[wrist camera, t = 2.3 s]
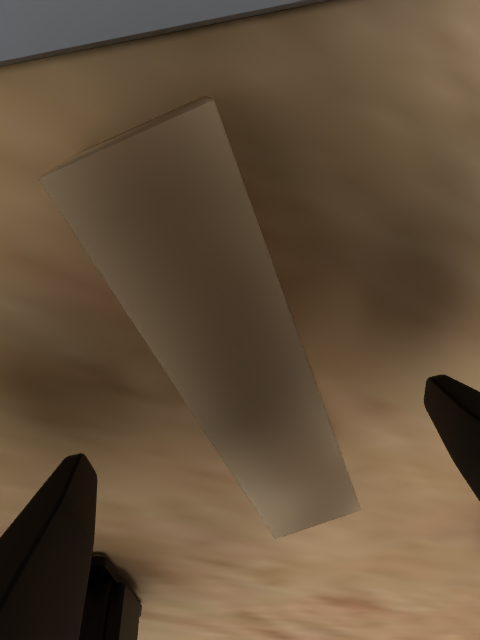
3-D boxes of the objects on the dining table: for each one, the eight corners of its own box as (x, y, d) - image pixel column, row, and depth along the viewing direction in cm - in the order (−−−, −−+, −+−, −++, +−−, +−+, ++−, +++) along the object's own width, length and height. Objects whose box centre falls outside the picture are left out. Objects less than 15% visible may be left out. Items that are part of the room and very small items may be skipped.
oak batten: (259, 462, 17) (274, 538, 14) (81, 151, 10) (38, 178, 7) (330, 437, 17) (361, 510, 14) (204, 95, 9) (214, 99, 6)
